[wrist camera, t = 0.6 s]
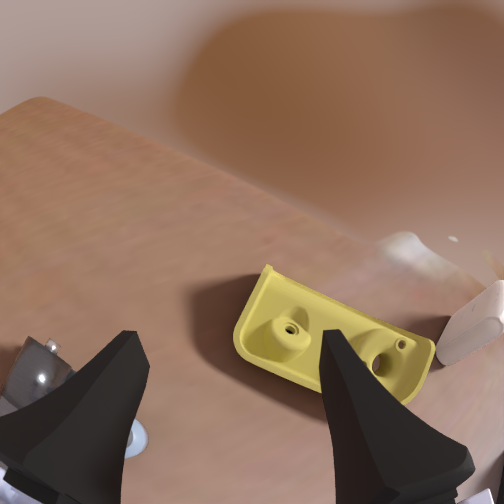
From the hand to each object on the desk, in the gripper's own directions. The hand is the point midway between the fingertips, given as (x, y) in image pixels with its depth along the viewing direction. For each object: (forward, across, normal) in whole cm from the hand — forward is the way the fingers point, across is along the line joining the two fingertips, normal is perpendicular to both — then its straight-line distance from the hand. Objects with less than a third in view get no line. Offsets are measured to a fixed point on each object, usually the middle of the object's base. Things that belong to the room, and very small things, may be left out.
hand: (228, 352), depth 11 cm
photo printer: (+19, -28, +21) cm, 40 cm away
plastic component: (+15, -7, +16) cm, 23 cm away
